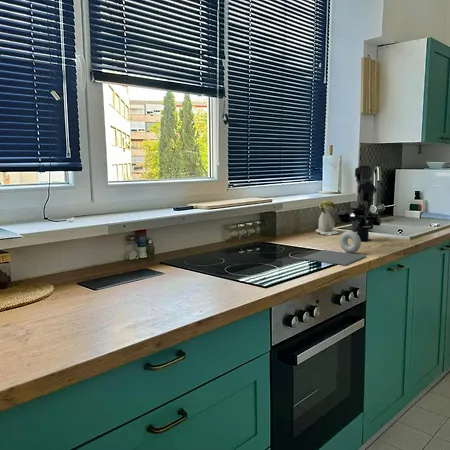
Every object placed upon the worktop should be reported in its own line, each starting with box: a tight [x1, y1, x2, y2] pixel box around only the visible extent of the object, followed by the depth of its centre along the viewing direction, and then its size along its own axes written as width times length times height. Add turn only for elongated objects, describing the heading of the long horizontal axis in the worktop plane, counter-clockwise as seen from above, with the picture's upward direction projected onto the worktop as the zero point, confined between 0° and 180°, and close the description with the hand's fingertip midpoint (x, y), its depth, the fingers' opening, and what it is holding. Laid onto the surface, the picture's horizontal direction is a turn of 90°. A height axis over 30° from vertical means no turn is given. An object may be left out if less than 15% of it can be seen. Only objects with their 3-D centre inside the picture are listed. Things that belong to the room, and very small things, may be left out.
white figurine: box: [315, 200, 340, 236], centre depth 247 cm, size 12×13×18 cm
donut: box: [339, 230, 362, 254], centre depth 198 cm, size 10×3×10 cm, turn 43°
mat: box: [300, 249, 367, 267], centre depth 189 cm, size 20×20×1 cm
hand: (353, 232), depth 199 cm, fingers closed
